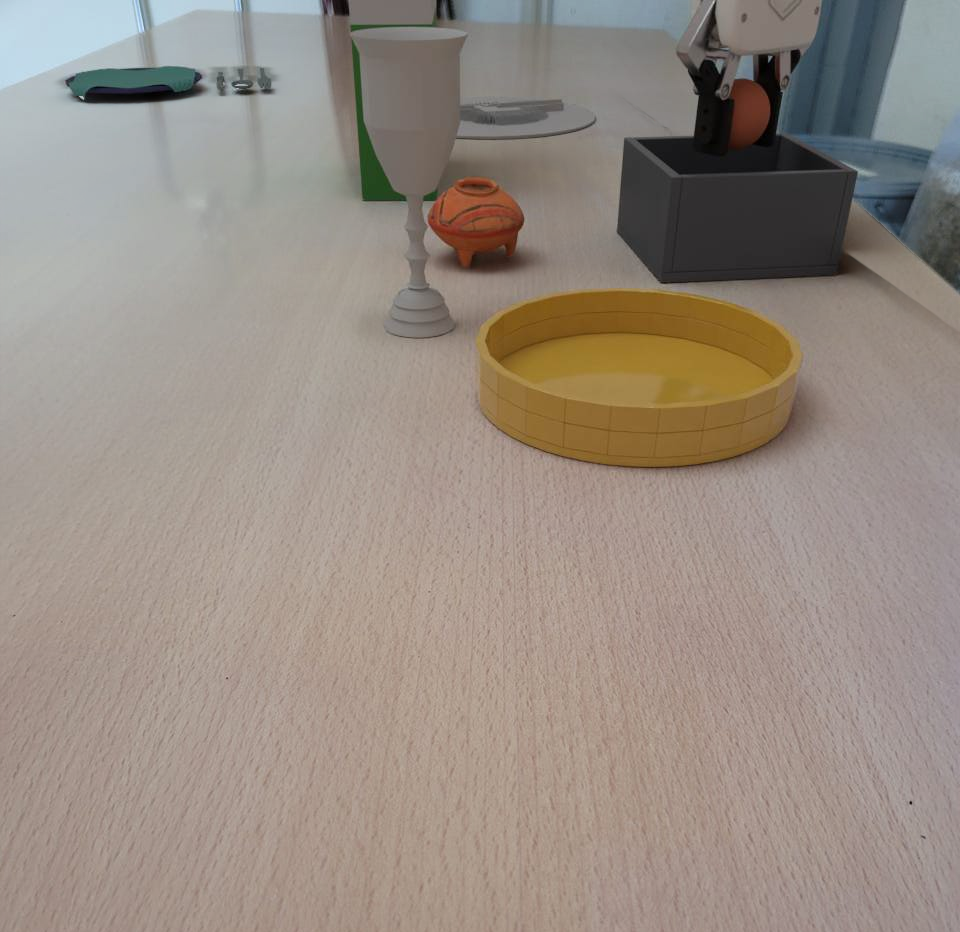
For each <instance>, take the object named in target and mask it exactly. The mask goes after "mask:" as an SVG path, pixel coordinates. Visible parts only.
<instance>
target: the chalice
mask: <svg viewBox="0 0 960 932" xmlns="http://www.w3.org/2000/svg"><path fill="white" fill-rule="evenodd" d="M349 35H350V38H351V37H352V39H353V41H354V44H355V46H356V48H357V50H358V52H359V55H360V71H361V87H362V102H363V118H364V123H365V126H366V129H367V132H368V134H369V137H370V140H371V143H372V145H373V148H374V151H375V154H376V156H377V158H378V160H379V162H380V164H381V166H382V168H383V170H384V172H385V174H386V176H387V178H388V180H389V182H390V184H391V186H392V188H393V190H394V191H396V192H398V193H400V194H402V195H404V196H406V199H407V200H406V203H407V207H408V209H407V218H406V222H405V224H404V225H403V228H404V230H405V231H406V233H407V236H408V239H409V244H408V249H407V251H406V252H405V253H404V254H403V257H404V258H405V259H406V260H407V261H408V264H409V269H410V276H409V277H410V278H409V282H408V283H407V284H406V288H402V289H400V290H398V292H397V293H396V294H395V296H394V297H393V299H392V304H391V307H390V308H389V310H388V317H387V319H386V320H385V322H384V329H385V330H386V331H387V332H388V333H390V334H392V335H395V336H399V337H404V338H417V339H418V338H432V337H438V336H441V335H445V334H448V333H449V332H452V330H454V328H455V326H456V324H455V323H456V322H455V321H454V319H453V318H452V316H451V315H450V308H449V307H448V305H447V304H446V300H445V296H443V295H442V293H441V292H440V290H438V289H436V288H434V287H430V286H431V284H430V283H429V282H427V279H426V275H425V270H426V264H427V260H428V259H429V258H430V257H431V254H430V253H429V252H428V251H427V250H426V246H425V243H424V239H425V234H426V232H427V230H428V228H429V226H428V224H427V223H426V220H425V217H424V211H423V204H424V200H423V198H424V196H425V195H427V194H429V193H431V192H433V191H435V190H436V188H437V186H438V187H439V183H440V181H441V178H442V176H443V174H444V172H445V169H446V167H447V165H448V163H449V160H450V158H451V155H452V152H453V149H454V146H455V143H456V139H457V138H456V136H457V132H458V129H459V125H460V98H461V55H460V54H461V52H462V50H463V47H464V45H465V43H466V40H467V37H468V35H469V33H468V32H467V31H465V30H460V29H457V28H456V29H454V28H448V27H447V28H446V27H437V28H434V27H386V28H372V29H363V30H357V31H353V32H351V31H350V32H349Z"/></svg>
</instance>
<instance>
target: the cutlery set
mask: <svg viewBox="0 0 960 932" xmlns="http://www.w3.org/2000/svg"><path fill="white" fill-rule="evenodd" d="M259 74H260V77H258V78H257V85H258V87H259V88H260V89H263V88H264V89H267V88H268V89H271V88H272V84H273V83H272V78H271V77H268V75H266V72H265V68H264V67H259ZM217 75H218V76H216V89H217V90H218V91H224V85H223V82H225V83H226V79H225V76H224V72H223V71H218V72H217ZM222 75H223V76H222ZM237 75H238V77H239V80H234V81H232V82H231V83H230V85H231V87H233V89H236V88H239V89H247V88H249V89H251V88H252V87H253V86H254V82H253V81H251V80H247V79H244V68H237ZM202 79H203V75H202V74H201V72H198V71H196V68H191V67H187V66H177V65H175V66H173V65H164V66H159V67H133V68H110V67H109V68H98V69H92V70H87V71H81V72H77V73H75V75H73V76H70V77H68V78H67V79H65V80H64V82H65V84H66V87H68V88H69V89H70V91H71V92H72V94H74V95H75V96H76V97H77V96H83V97H85V98H86V93H93V94H94V93H95V94H145V93H154V92H155V93H156V92H162V91H174V93H179V92H185V91H188V90H191V88H192V87H193V86H194V85H196V84H197V83H199V82H200V81H201V80H202ZM237 84H246V85H248V86H235V85H237ZM239 89H238V90H239ZM247 90H248V89H247Z"/></svg>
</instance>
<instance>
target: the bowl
mask: <svg viewBox="0 0 960 932" xmlns="http://www.w3.org/2000/svg"><path fill="white" fill-rule="evenodd" d="M474 345H475V346H474V347H475V348H474V349H475V350H474V351H475V353H474V354H475V356H474V357H475V358H474V359H475V361H474V362H475V363H474V365H475V369H474V371H475V372H474V375H475V381H474V382H475V389H476V398H477V403H478V406H479V408H480V410H481V412H482V413H483V415H484V416H485V417H486V419H488V421H489V422H490V423H491V424H493V425H494V426H495V427H496V428H497V429H498V430H500V431H502V432H503V433H505V434H506V435H508V436H509V437H511V438H513V439H515V440H518V441H519V442H520V443H521V442H522V443H523V444H525V445H528V446H530V447H533V448H534V449H535V448H536V449H538V450H541V451H543V452H547V453H550V454H554V455H557V456H561V457H565V458H568V459H574V460H577V461H578V460H579V461H582V462H589V463H595V464H602V465H608V466H609V465H610V466H620V467H621V466H622V467H637V468H638V467H639V468H667V467H668V468H669V467H683V466H693V465H701V464H707V463H713V462H718V461H722V460H726V459H730V458H734V457H737V456H740V455H743V454H746V453H748V452H751V451H754V450H755V449H758V448H760V447H762V446H763V445H766V444H767V443H769V442H770V441H772V440H773V439H775V438H776V437H777V436H778V435H779V434H780V433H781V432H782V431H783V430H784V429H785V428H786V426H787V424H788V422H789V420H790V417H791V413H792V408H793V406H794V403H795V399H796V395H797V390H798V386H799V385H798V384H799V379H800V375H801V370H802V366H803V360H804V354H803V352H802V348H801V345H800V343H799V340H798V338H796V337H795V335H793V334H792V333H791V332H790V331H789V330H788V329H787V328H786V327H785V326H784V325H783V324H781V323H780V322H777V321H775V320H773V318H770V317H768V316H766V315H765V314H763V313H761V312H758V311H755V310H754V309H750V308H747V307H745V306H741V305H738V304H735V303H733V302H730V301H727V300H722V299H718V298H713V297H708V296H703V295H699V294H694V293H688V292H682V291H672V290H664V289H655V288H634V287H610V288H609V287H607V288H585V289H582V288H581V289H576V290H568V291H561V292H555V293H548V294H545V295H541V296H536V297H533V298H529V299H526V300H522V301H518V302H516V303H514V304H512V305H510V306H508V307H506V308H503V309H501V310H499V311H497V312H495V313H494V314H493V315H491V316H490V317H489V318H488V319H487V320H486V321H485V322H484V323H482V324H481V325H480V327H479V330H478V332H477V335H476V338H475V341H474Z"/></svg>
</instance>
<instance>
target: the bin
mask: <svg viewBox="0 0 960 932" xmlns="http://www.w3.org/2000/svg"><path fill="white" fill-rule="evenodd" d="M693 138H694V135H668V136H666V135H665V136H637V137H636V136H634V137H633V136H631V137H630V136H629V137H624V138H623V149H622V160H621V161H622V162H621V175H620V184H619V185H620V187H619V200H618V212H617V225H616V232H617V234H618V235H619V236H620V237H621V238H622V240H623V241H624V242H625V243H626V244H627V245H628V246H629V248H630V249H631V250H632V251H633V252H634V254H635V255H636V256H637V257H638V258H639V260H641V262H642V264H644V265H645V266H646V267H647V269H648V270H649V271H650V272H651V274H652V275H653V276H654V277H655V278H656V279H657V280H658V281H659V283H661V284H667V283H670V284H671V283H688V282H689V283H691V282H713V281H716V282H717V281H734V280H735V281H736V280H755V279H757V280H758V279H759V280H760V279H779V278H800V277H801V276H805V277H822V276H821V275H827V276H836V275H837V273H838V269H839V264H840V259H841V255H842V250H843V244H844V241H845V235H846V231H847V225H848V222H849V216H850V211H851V207H852V203H853V197H854V192H855V188H856V184H857V179H858V174H859V171H858V170H857V169H855V168H852V167H851V166H849V165H847V164H845V163H844V162H842V161H839V160H838V159H836V158H834V157H832V156H830V155H828V154H827V153H825V152H823V151H821V150H819V149H817V148H815V147H814V146H812V145H810V144H808V143H806V142H804V141H802V140H801V139H799V138H797V137H795V136H793V135H791V134H789V133H787V132H780V133H779V132H778V133H777V132H776V138H775V143H774V145H773V146H771V147H762V146H758V145H753V144H751V145H749V146H748V147H745V148H742V149H737V150H732V149H728V152H727V154H726V155H725V156H720V157H718V156H714V155H710V154H705V153H701V152H697V151H694V149H693ZM835 274H836V275H835ZM818 275H820V276H818ZM801 278H802V277H801Z"/></svg>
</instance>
